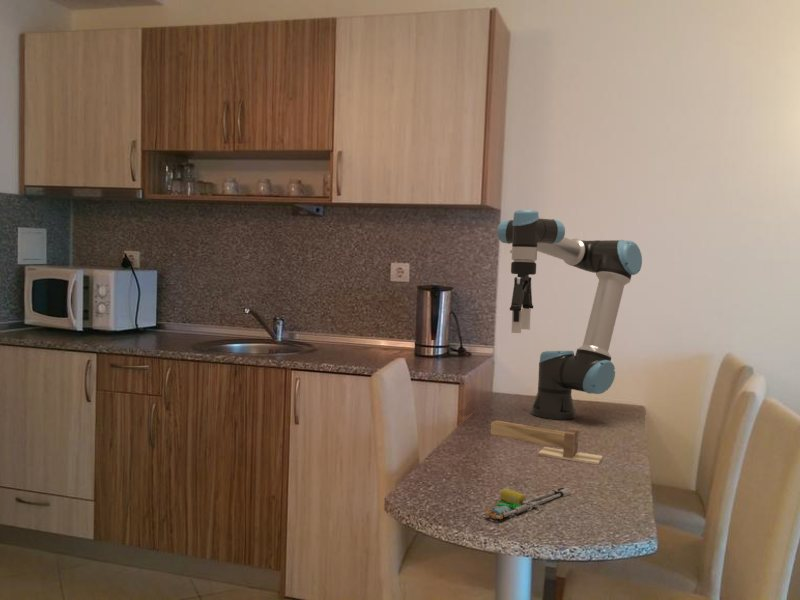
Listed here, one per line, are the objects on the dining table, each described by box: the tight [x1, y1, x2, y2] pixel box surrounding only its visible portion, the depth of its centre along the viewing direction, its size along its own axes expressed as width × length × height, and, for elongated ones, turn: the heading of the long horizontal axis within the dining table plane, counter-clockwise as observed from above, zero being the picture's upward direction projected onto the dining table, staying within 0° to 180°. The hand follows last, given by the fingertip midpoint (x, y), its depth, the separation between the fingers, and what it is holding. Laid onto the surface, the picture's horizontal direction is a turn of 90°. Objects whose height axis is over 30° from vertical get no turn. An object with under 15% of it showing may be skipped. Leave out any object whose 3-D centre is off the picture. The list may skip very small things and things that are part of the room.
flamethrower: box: [485, 487, 572, 520], centre depth 145 cm, size 29×3×10 cm
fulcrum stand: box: [537, 427, 604, 466], centre depth 187 cm, size 8×16×7 cm, turn 66°
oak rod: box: [490, 419, 566, 449], centre depth 204 cm, size 4×24×4 cm, turn 59°
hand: (520, 331), depth 210 cm, fingers open, 13 cm apart
